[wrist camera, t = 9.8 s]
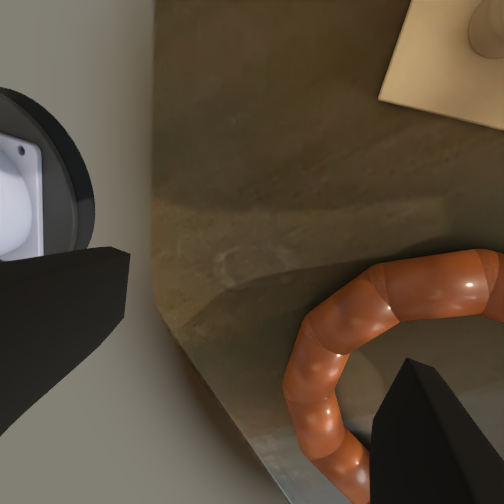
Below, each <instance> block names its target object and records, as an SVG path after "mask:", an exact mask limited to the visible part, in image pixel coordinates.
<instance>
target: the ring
mask: <svg viewBox="0 0 504 504" xmlns="http://www.w3.org/2000/svg"><path fill="white" fill-rule="evenodd" d="M469 315H480V316H483V317H486V318H489V319H492V320H495V321H498V322H501V323H504V254H503V253H499V252H496V251H492V250H488V249H471V250H464V251H457V252H451V253H444V254H437V255H430V256H424V257H417V258H410V259H403V260H397V261H390V262H383V263H379V264H376V265H373V266H371V267H370V268H368V269H367V270H366V271H364V272H363V273H362V274H360V275H359V276H357V277H356V278H355V279H353V280H352V281H351V282H349V283H348V284H346V285H345V286H344V287H342V288H341V289H340V290H338V291H337V292H336V293H334V294H333V295H331V296H330V297H329V298H327V299H326V300H325V301H323V302H322V303H320V304H319V305H318V306H316V307H315V308H314V309H312V310H311V311H310V312H309V313H308V314H307V315H306V316H305V318H304V319H303V322H302V324H301V327H300V330H299V333H298V336H297V339H296V341H295V344H294V347H293V350H292V353H291V356H290V359H289V362H288V364H287V367H286V370H285V373H284V376H283V380H282V389H283V394H284V397H285V400H286V403H287V407H288V410H289V413H290V416H291V420H292V423H293V426H294V429H295V433H296V436H297V439H298V442H299V446H300V448H301V450H302V452H303V454H304V455H305V456H306V458H307V459H308V460H309V461H310V462H311V463H312V464H313V465H314V466H315V467H316V468H317V469H318V470H319V471H320V472H321V473H322V474H323V475H324V476H325V477H326V478H327V479H328V480H329V481H330V482H331V483H332V484H333V485H334V486H335V487H336V488H337V489H338V490H339V491H340V492H342V493H343V494H344V495H345V496H346V497H347V498H348V499H349V500H350V501H351V502H352V503H353V504H370V481H369V457H370V452H369V451H368V450H367V449H366V448H365V447H364V446H363V445H362V444H361V443H360V442H359V441H358V440H357V439H356V438H355V437H354V435H353V434H352V433H351V432H350V431H349V430H348V429H347V428H346V427H345V426H344V425H343V421H342V417H341V413H340V409H339V406H338V402H337V398H336V394H335V390H334V389H335V387H336V385H337V383H338V380H339V378H340V376H341V373H342V371H343V369H344V366H345V364H346V362H347V360H348V357H349V355H350V353H351V352H352V351H354V350H356V349H357V348H359V347H360V346H362V345H364V344H365V343H367V342H369V341H370V340H372V339H373V338H375V337H377V336H378V335H380V334H382V333H383V332H385V331H386V330H388V329H390V328H391V327H393V326H395V325H396V324H398V323H399V322H403V321H414V320H425V319H436V318H447V317H458V316H469Z"/></svg>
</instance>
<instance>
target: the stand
mask: <svg viewBox="0 0 504 504" xmlns="http://www.w3.org/2000/svg"><path fill="white" fill-rule="evenodd" d="M378 100H379V101H382V102H387V103H391V104H395V105H399V106H403V107H407V108H411V109H415V110H419V111H423V112H427V113H432V114H436V115H440V116H444V117H448V118H452V119H456V120H460V121H464V122H468V123H473V124H477V125H481V126H485V127H489V128H493V129H497V130H501V131H504V0H411V3H410V5H409V8H408V11H407V14H406V17H405V20H404V23H403V26H402V29H401V32H400V34H399V37H398V40H397V43H396V46H395V49H394V52H393V55H392V58H391V61H390V63H389V66H388V69H387V72H386V75H385V78H384V81H383V84H382V87H381V90H380V92H379V95H378Z"/></svg>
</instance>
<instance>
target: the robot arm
mask: <svg viewBox="0 0 504 504" xmlns="http://www.w3.org/2000/svg"><path fill="white" fill-rule="evenodd" d="M23 148H24V150H25V152H24V150H23ZM0 259H1V260H4V262H0V436H1V435H2V434H3V433H4V432H5V431H6V430H7V429H8V428H9V426H11V425H12V424H13V423H14V422H15V421H16V420H17V419H18V418H19V417H20V416H21V415H22V414H23V413H24V412H25V411H27V410H28V409H29V408H30V407H31V406H32V405H33V404H34V403H36V402H37V401H38V400H39V399H40V398H41V397H42V396H44V394H46V393H47V392H48V391H49V390H50V389H51V388H53V387H54V386H55V385H56V384H57V383H58V382H59V381H61V380H62V379H63V378H64V377H65V376H66V375H67V374H69V373H70V372H71V371H72V370H73V369H74V368H75V367H76V366H77V365H79V364H80V363H81V362H82V361H83V360H84V359H85V358H87V356H89V355H90V354H91V353H92V352H93V351H94V350H95V349H96V348H98V346H100V345H101V343H102V342H103V341H104V340H105V339H106V338H107V337H108V336H109V334H110V333H111V332H112V331H113V330H114V329H115V327H116V326H117V325H118V324H119V323H120V321H121V320H122V319H123V318H124V312H125V302H126V292H127V283H128V273H129V262H130V254H129V253H126V252H124V251H121V250H118V249H116V248H113V247H97V248H89V249H82V250H75V251H69V252H63V253H57V254H50V255H44V246H43V200H42V155H41V150H40V148H39V147H38V146H37V145H36V144H34V143H31V142H28V141H25V140H22V139H19V138H16V137H13V136H9V135H6V134H3V133H0ZM369 481H370V504H504V461H503V460H502V458H501V457H500V456H499V454H498V453H497V452H496V450H495V449H494V448H493V446H492V445H491V444H490V442H489V441H488V440H487V438H486V437H485V436H484V434H483V433H482V432H481V430H480V429H479V427H478V426H477V425H476V423H475V422H474V421H473V419H472V418H471V417H470V415H469V414H468V412H467V411H466V410H465V408H464V407H463V405H462V404H461V403H460V401H459V400H458V399H457V397H456V396H455V394H454V393H453V392H452V390H451V389H450V388H449V386H448V385H447V384H446V382H445V381H444V380H443V378H442V377H441V376H440V374H439V373H438V372H437V371H436V370H435V368H433V367H431V366H428V365H425V364H423V363H420V362H417V361H415V360H412V359H409V358H406V359H405V361H404V363H403V365H402V367H401V369H400V371H399V372H398V374H397V376H396V378H395V380H394V382H393V384H392V385H391V387H390V389H389V391H388V393H387V395H386V397H385V398H384V400H383V402H382V404H381V406H380V408H379V410H378V411H377V413H376V415H375V417H374V419H373V425H372V435H371V445H370V457H369Z"/></svg>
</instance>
